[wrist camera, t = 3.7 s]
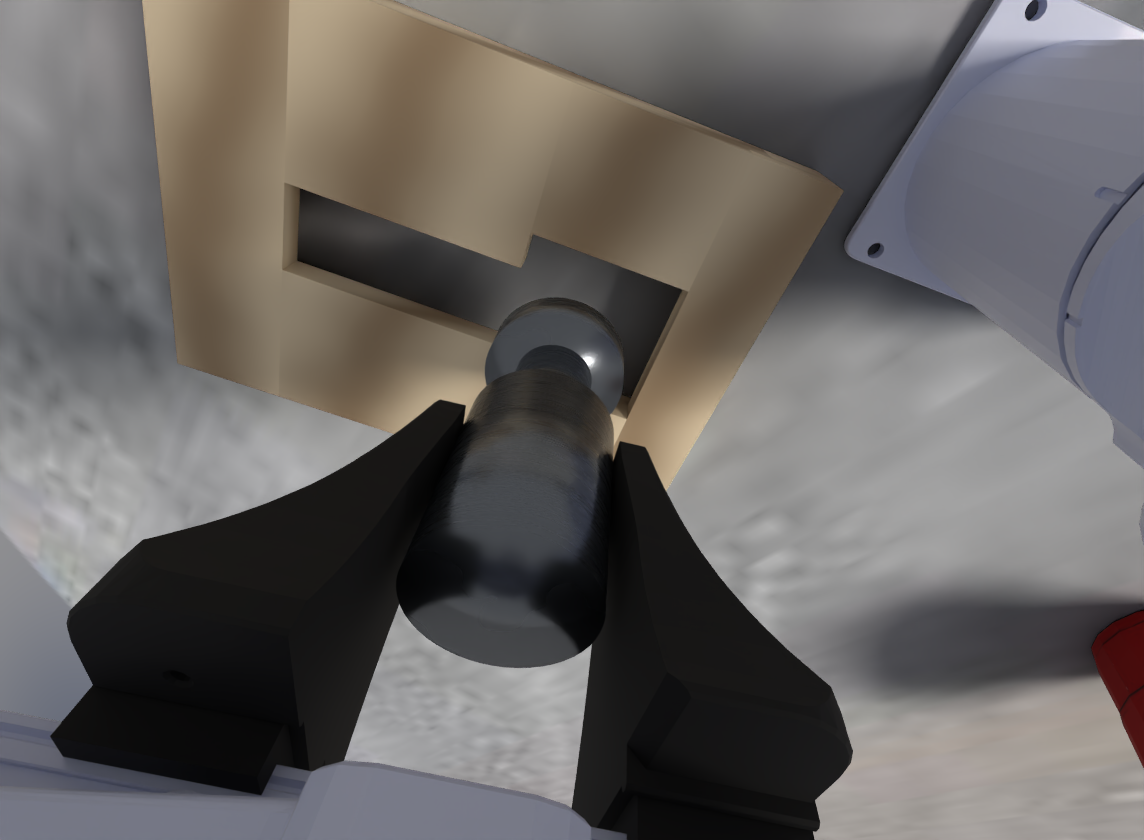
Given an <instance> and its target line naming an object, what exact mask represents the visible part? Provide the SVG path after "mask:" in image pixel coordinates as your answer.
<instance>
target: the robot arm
mask: <svg viewBox="0 0 1144 840" xmlns="http://www.w3.org/2000/svg"><path fill="white" fill-rule="evenodd" d="M1031 1H1032V0H994V2H993V4H992V5H991V7H990V8H989V10H988V12H987V13H986V15H985V16H984V18H983V20H982V21H981V23H980V24H979V26H978V28H977V29H976V31H975V32H974V34H973V36H972V37H971V39H970V40H969V42H968V44H967V45H966V47H965V48H964V50H963V52H962V53H961V55H960V56H959V58H958V60H957V61H956V63H955V65H954V66H953V68H952V69H951V71H950V73H949V74H948V76H947V77H946V79H945V81H944V82H943V84H942V85H941V87H940V89H939V90H938V92H937V93H936V95H935V97H934V98H933V100H932V101H931V103H930V105H929V106H928V108H927V109H926V111H925V113H924V114H923V116H922V117H921V119H920V121H919V122H918V124H917V125H916V127H915V129H914V130H913V132H912V133H911V135H910V137H909V138H908V140H907V141H906V143H905V145H904V146H903V148H902V149H901V151H900V153H899V154H898V156H897V157H896V159H895V161H894V162H893V164H892V165H891V167H890V169H889V170H888V172H887V173H886V175H885V177H884V178H883V180H882V182H881V183H880V185H879V186H878V188H877V190H876V191H875V193H874V194H873V196H872V198H871V199H870V201H869V202H868V204H867V206H866V207H865V209H864V210H863V212H862V214H861V215H860V217H859V218H858V220H857V222H856V223H855V225H854V226H853V228H852V230H851V231H850V233H849V234H848V236H847V238H846V240H845V243H844V249H845V251H846V253H847V254H848V255H849V256H850V257H852V258H853V259H855V260H858V261H861V262H863V263H866V264H868V265H871V266H873V267H876V268H879V269H881V270H884V271H886V272H889V273H891V274H894V275H897V276H899V277H902V278H904V279H907V280H909V281H912V282H915V283H917V284H920V285H922V286H925V287H927V288H930V289H933V290H935V291H938V292H940V293H943V294H945V295H948V296H951V297H953V298H956V299H958V300H961V301H963V302H966V303H969V304H971V305H973V306H974V307H976V308H977V309H978V310H979V311H981V312H982V313H983V314H984V315H986V316H987V317H988V318H989V319H991V320H992V321H993V322H995V323H996V324H997V325H998V326H1000V327H1001V328H1002V329H1003V330H1005V331H1006V332H1007V333H1008V334H1010V335H1011V336H1012V337H1013V338H1015V339H1016V340H1017V341H1019V342H1020V343H1021V344H1022V345H1024V346H1025V347H1026V348H1027V349H1029V350H1030V351H1031V352H1032V353H1034V354H1035V355H1036V356H1037V357H1039V358H1040V359H1041V360H1043V361H1044V362H1045V363H1046V364H1048V365H1049V366H1050V367H1051V368H1053V369H1054V370H1055V371H1056V372H1058V373H1059V374H1060V375H1061V376H1063V377H1064V378H1065V379H1066V380H1068V381H1069V382H1070V383H1072V384H1073V385H1074V386H1075V387H1077V388H1078V389H1079V390H1080V391H1082V392H1083V393H1084V394H1085V395H1087V396H1088V397H1089V398H1091V399H1093V400H1094V401H1095V402H1096V403H1097V404H1098V405H1100V406H1101V407H1102V408H1103V409H1104V410H1105V411H1106V412H1107V413H1108V414H1109V416H1110V418H1111V420H1112V423H1113V427H1114V435H1113V443H1114V444H1115V445H1116V446H1117V447H1119V448H1120V449H1121V450H1122V451H1123V452H1124V453H1126V454H1127V455H1128V456H1129V457H1130V458H1131V459H1133V460H1134V461H1135V462H1136V463H1137V464H1139V465H1140V466H1141V467H1142V468H1143V469H1144V30H1141V29H1139V28H1137V27H1135V26H1133V25H1130V24H1128V23H1126V22H1124V21H1122V20H1119V19H1117V18H1115V17H1113V16H1111V15H1109V14H1106V13H1104V12H1102V11H1100V10H1098V9H1095V8H1093V7H1091V6H1089V5H1087V4H1085V3H1082V2H1080V1H1078V0H1037V1H1038V3H1039V8H1038V11H1037V13H1036V15H1035V16H1034V17H1033V18H1032V19H1030V20H1027V19H1026V18H1025V10H1026V8H1027V6H1028V4H1029V3H1030V2H1031ZM875 243H880V248H879V250H878V251H877V252H876V253H875V254H872V255H868V253H867V251H868V249H869V247H870V246H871V245H872V244H875ZM465 409H466V405H462V404H458V403H454V402H449V401H445V400H441V399H440V400H438V401H436V402H435V403H433V404H432V405H431V406H430V407H428V408H427V409H426V410H425V411H424V412H422V413H421V414H420V415H419V416H417V417H416V418H415V419H414V420H412V421H411V422H410V423H408V424H407V425H406V426H405V427H403V428H402V429H400V430H399V431H398V432H396V433H395V434H394V435H392V436H391V437H389V438H388V439H387V440H385V441H384V442H382V443H381V444H380V445H378V446H377V447H375V448H373V449H372V450H370V451H369V452H367V453H366V454H364V455H362V456H361V457H359V458H358V459H356V460H355V461H353V462H351V463H350V464H348V465H346V466H345V467H343V468H341V469H339V470H338V471H336V472H334V473H332V474H330V475H328V476H326V477H325V478H323V479H321V480H319V481H317V482H315V483H313V484H311V485H309V486H306V487H304V488H302V489H299V490H297V491H295V492H292V493H290V494H288V495H285V496H283V497H280V498H278V499H276V500H273V501H271V502H269V503H266V504H263V505H261V506H258V507H255V508H252V509H249V510H247V511H244V512H241V513H238V514H235V515H232V516H229V517H226V518H223V519H219V520H216V521H213V522H210V523H206V524H203V525H199V526H195V527H191V528H188V529H184V530H180V531H176V532H172V533H169V534H165V535H161V536H157V537H153V538H149V539H144V540H142V541H141V542H140V543H139V544H137V545H136V546H135V547H134V548H133V549H132V550H131V551H130V552H128V553H127V554H126V555H125V556H124V557H123V558H121V559H120V560H119V561H118V562H117V563H116V564H115V566H114V567H113V568H112V569H111V570H110V571H109V572H108V573H107V574H106V575H105V576H104V577H103V578H102V579H101V580H100V581H99V582H98V583H97V584H96V585H95V586H94V587H93V588H92V589H91V590H90V591H89V592H88V593H87V594H86V595H85V596H84V597H83V598H82V599H81V600H80V601H79V602H78V603H77V604H76V605H75V606H74V607H73V608H72V609H71V610H70V611H69V615H68V620H67V628H68V631H69V635H70V639H71V642H72V644H73V646H74V648H75V650H76V652H77V654H78V656H79V658H80V660H81V662H82V664H83V666H84V668H85V670H86V672H87V674H88V676H89V678H90V680H91V682H92V684H93V686H92V687H91V688H90V689H89V691H88V692H87V693H86V694H85V695H84V697H83V698H82V699H81V700H80V701H79V703H78V704H77V705H76V706H75V707H74V708H73V710H72V711H71V712H70V713H69V714H68V716H67V717H66V718H65V719H64V720H63V721H62V722H60V721H55V720H50V719H45V718H40V717H35V716H30V715H24V714H20V713H15V712H10V711H5V710H0V840H815V839H814V835H813V831H815V832H816V831H817V830H818V829H819V827H820V820H819V816H818V812H817V807H816V803H815V800H816V799H817V798H818V797H819V796H820V795H821V794H822V793H823V792H824V791H825V790H826V789H828V788H829V787H830V786H831V785H832V784H833V783H834V782H835V781H836V780H837V779H838V778H840V776H841V775H842V774H843V773H844V771H845V770H846V769H847V767H848V766H849V765H850V763H851V759H852V754H853V750H852V747H851V744H850V740H849V737H848V734H847V731H846V727H845V724H844V720H843V717H842V714H841V711H840V709H839V706H838V704H837V701H836V698H835V696H834V693H833V691H832V688H831V687H830V686H829V685H828V684H827V683H826V682H825V681H823V680H822V679H821V678H820V677H819V676H817V675H816V674H815V673H814V672H813V671H812V670H810V669H809V668H808V667H807V666H806V665H805V664H803V663H802V662H801V661H800V660H799V659H798V658H796V657H795V656H794V655H793V654H792V653H791V652H790V651H788V650H787V649H786V648H785V647H784V646H783V645H782V644H781V643H780V642H779V641H778V640H777V639H776V638H775V637H774V636H773V635H772V634H771V633H770V632H769V631H768V630H767V629H766V628H765V627H764V626H763V625H762V624H761V623H760V622H759V621H758V620H757V619H756V618H755V617H754V616H753V615H752V614H751V613H750V612H749V611H748V610H747V609H746V607H745V606H744V605H743V604H742V603H741V602H740V601H739V599H738V598H737V597H736V596H735V595H734V594H733V593H732V591H731V590H730V589H729V588H728V587H727V586H726V584H725V583H724V582H723V581H722V579H721V578H720V577H719V576H718V574H717V573H716V572H715V570H714V569H713V568H712V566H711V565H710V564H709V562H708V561H707V559H706V558H705V557H704V555H703V554H702V553H701V551H700V550H699V548H698V547H697V545H696V544H695V542H694V540H693V539H692V537H691V535H690V534H689V532H688V531H687V529H686V527H685V526H684V524H683V522H682V520H681V519H680V517H679V515H678V513H677V511H676V509H675V508H674V506H673V504H672V502H671V500H670V498H669V496H668V494H667V492H666V490H665V488H664V486H663V484H662V482H661V480H660V478H659V476H658V473H657V471H656V469H655V467H654V464H653V462H652V460H651V457H650V455H649V453H648V451H647V449H646V447H643V446H639V445H635V444H631V443H626V442H622V441H620V442H619V445H618V448H617V451H616V454H615V457H614V460H613V470H612V492H611V514H610V536H609V558H608V579H607V601H606V617H605V622H604V625H603V628H602V630H601V632H600V634H599V635H598V637H597V638H596V640H595V641H594V642H593V643H592V649H591V659H590V668H589V677H588V686H587V695H586V703H585V712H584V720H583V728H582V736H581V744H580V751H579V759H578V767H577V774H576V782H575V789H574V796H573V803H572V809H571V808H570V807H569V806H567V805H565V804H562V803H559V802H556V801H553V800H550V799H547V798H544V797H541V796H538V795H534V794H529V793H524V792H519V791H514V790H509V789H504V788H499V787H494V786H489V785H484V784H479V783H474V782H469V781H464V780H459V779H454V778H449V777H444V776H440V775H435V774H430V773H425V772H420V771H415V770H410V769H405V768H400V767H395V766H390V765H385V764H380V763H369V762H356V761H344V759H345V756H346V753H347V750H348V747H349V744H350V741H351V737H352V734H353V732H354V729H355V726H356V723H357V720H358V717H359V714H360V711H361V708H362V705H363V703H364V700H365V697H366V694H367V691H368V688H369V685H370V682H371V680H372V677H373V674H374V671H375V668H376V666H377V663H378V660H379V657H380V654H381V652H382V649H383V646H384V643H385V641H386V638H387V635H388V632H389V630H390V627H391V624H392V622H393V619H394V616H395V614H396V611H397V608H398V606H399V601H398V598H397V592H396V578H397V574H398V571H399V568H400V566H401V564H402V562H403V559H404V557H405V555H406V553H407V550H408V548H409V546H410V544H411V541H412V539H413V537H414V535H415V532H416V530H417V528H418V526H419V524H420V521H421V519H422V517H423V515H424V512H425V510H426V508H427V506H428V503H429V501H430V499H431V497H432V494H433V492H434V490H435V488H436V485H437V483H438V481H439V479H440V477H441V474H442V472H443V470H444V468H445V465H446V463H447V461H448V459H449V456H450V454H451V452H452V450H453V447H454V445H455V443H456V441H457V438H458V436H459V434H460V432H461V430H462V427H463V425H464V417H465ZM1139 524H1140V530H1141V535H1142V540H1143V545H1144V504H1143V506H1142V509H1141V516H1140V523H1139Z"/></svg>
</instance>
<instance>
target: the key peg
mask: <svg viewBox="0 0 1144 840" xmlns="http://www.w3.org/2000/svg"><path fill="white" fill-rule="evenodd" d="M485 380H486V385H487V386H486V387H485V388H484V389H483V390H482V391H481V392H480V393H479V395H478V396H477V397H476V399H475V401H474V403H473V405H472V407H471V409H470V412H469V414H468V416H467V418H466V421H465V423H464V425H463V427H462V430H461V432H460V434H459V436H458V438H457V441H456V443H455V445H454V447H453V450H452V452H451V454H450V456H449V459H448V461H447V463H446V465H445V468H444V470H443V472H442V474H441V477H440V479H439V481H438V483H437V485H436V488H435V490H434V492H433V494H432V497H431V499H430V501H429V503H428V506H427V508H426V510H425V512H424V515H423V517H422V519H421V521H420V524H419V526H418V528H417V530H416V532H415V535H414V537H413V539H412V541H411V544H410V546H409V548H408V550H407V553H406V555H405V557H404V559H403V562H402V564H401V566H400V568H399V571H398V574H397V578H396V592H397V598H398V601H399V604H400V606H401V608H402V610H403V612H404V614H405V615H406V617H407V618H408V620H409V621H410V622H411V623H412V624H413V626H414V627H415V628H416V629H417V630H418V631H419V632H421V633H422V634H423V635H424V636H425V637H426V638H428V639H429V640H431V641H432V642H433V643H435V644H436V645H438V646H440V647H442V648H443V649H445V650H447V651H449V652H451V653H454V654H456V655H458V656H461V657H463V658H466V659H469V660H472V661H476V662H479V663H483V664H488V665H493V666H500V667H511V668H531V667H540V666H546V665H551V664H555V663H558V662H562V661H565V660H567V659H569V658H572V657H574V656H576V655H577V654H579V653H581V652H582V651H584V650H585V649H586V648H588V647H589V646H590V645H591V644H592V643H593V642H594V641H595V640H596V638H597V637H598V635H599V634H600V632H601V630H602V628H603V625H604V622H605V617H606V601H607V579H608V558H609V536H610V514H611V492H612V470H613V448H614V428H613V423H612V420H611V417H610V414H611V413H612V412H613V411H614V409H615V408H616V406H617V404H618V402H619V400H620V397H621V394H622V390H623V384H624V353H623V347H622V344H621V340H620V338H619V336H618V334H617V332H616V330H615V329H614V327H613V326H612V325H611V323H610V322H609V321H608V320H607V319H606V318H605V317H604V316H603V315H602V314H601V313H599V312H598V311H596V310H595V309H593V308H592V307H590V306H588V305H586V304H584V303H581V302H578V301H575V300H571V299H566V298H544V299H538V300H535V301H531V302H529V303H527V304H524V305H523V306H521V307H519V308H518V309H516V310H515V311H514V312H512V313H511V314H510V315H509V316H508V317H507V318H506V319H505V321H504V322H503V323H502V325H501V326H500V328H499V330H498V332H497V335H496V337H495V339H494V341H493V343H492V345H491V347H490V349H489V351H488V354H487V358H486V362H485Z"/></svg>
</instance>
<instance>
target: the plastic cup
mask: <svg viewBox="0 0 1144 840" xmlns="http://www.w3.org/2000/svg"><path fill="white" fill-rule="evenodd" d="M1091 649H1092V652H1093V656H1094V659H1095V662H1096V665H1097V669H1098V672H1099V674H1100V676H1101V678H1102V680H1103V682H1104V684H1105V686H1106V688H1107V690H1108V692H1109V693H1110V695H1111V697H1112V699H1113V701H1114V703H1115V705H1116V707H1117V709H1118V711H1119V713H1120V716H1121V720H1122V723H1123V726H1124V728H1125V730H1126V732H1127V734H1128V736H1129V738H1130V741H1131V743H1132V745H1133V747H1134V749H1135V751H1136V753H1137V755H1138V757H1139V759H1140V761H1141V763H1142V766H1143V768H1144V611H1140V612H1136V613H1134V614H1131V615H1129V616H1127V617H1125V618H1122V619H1120V620H1118V621H1116V622H1113V623H1112V624H1111V625H1110V626H1108V627H1107V628H1106V629H1105V630H1103V631H1102V632H1101V633H1100V634H1098V635H1097V637H1096V639H1095V641H1094V643H1093V645H1092V647H1091Z"/></svg>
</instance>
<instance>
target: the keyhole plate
mask: <svg viewBox="0 0 1144 840" xmlns="http://www.w3.org/2000/svg"><path fill="white" fill-rule="evenodd" d="M142 4H143V14H144V25H145V35H146V45H147V55H148V66H149V76H150V86H151V96H152V107H153V117H154V127H155V138H156V148H157V158H158V168H159V179H160V189H161V199H162V209H163V220H164V230H165V240H166V250H167V261H168V271H169V281H170V291H171V302H172V312H173V322H174V332H175V343H176V353H177V363H178V364H181V365H184V366H187V367H190V368H194V369H197V370H200V371H203V372H206V373H209V374H212V375H215V376H218V377H221V378H224V379H227V380H230V381H233V382H236V383H240V384H243V385H246V386H249V387H252V388H255V389H258V390H261V391H264V392H267V393H270V394H273V395H276V396H279V397H282V398H286V399H289V400H292V401H295V402H298V403H301V404H304V405H307V406H310V407H313V408H316V409H319V410H322V411H325V412H328V413H332V414H335V415H338V416H341V417H344V418H347V419H350V420H353V421H356V422H359V423H362V424H365V425H368V426H371V427H374V428H378V429H381V430H384V431H387V432H390V433H393V434H395V433H396V432H398V431H399V430H400V429H402V428H403V427H405V426H406V425H407V424H408V423H410V422H411V421H412V420H414V419H415V418H416V417H417V416H419V415H420V414H421V413H422V412H424V411H425V410H426V409H427V408H428V407H430V406H431V405H432V404H433V403H435V402H436V401H438V400H440V399H441V400H445V401H449V402H454V403H458V404H462V405H466V409H465V417H464V423H465V421H466V418H467V416H468V414H469V412H470V409H471V407H472V405H473V403H474V401H475V399H476V397H477V396H478V395H479V393H480V392H481V391H482V390H483V389H484V388H485V387H486V386H487V385H486V380H485V362H486V358H487V354H488V351H489V349H490V347H491V345H492V343H493V341H494V339H495V337H496V335H497V332H498V331H496V330H493V329H490V328H487V327H485V326H482V325H479V324H476V323H473V322H470V321H467V320H465V319H462V318H459V317H456V316H453V315H450V314H448V313H445V312H442V311H439V310H436V309H433V308H430V307H428V306H425V305H422V304H419V303H416V302H413V301H410V300H408V299H405V298H402V297H399V296H396V295H393V294H390V293H388V292H385V291H382V290H379V289H376V288H373V287H371V286H368V285H365V284H362V283H359V282H356V281H353V280H351V279H348V278H345V277H342V276H339V275H336V274H333V273H331V272H328V271H325V270H322V269H319V268H316V267H313V266H311V265H308V264H305V263H302V262H299V261H297V248H298V225H299V202H300V188H301V189H304V190H307V191H309V192H312V193H315V194H318V195H320V196H323V197H326V198H329V199H331V200H334V201H337V202H340V203H342V204H345V205H348V206H351V207H353V208H356V209H359V210H362V211H364V212H367V213H370V214H373V215H375V216H378V217H381V218H384V219H386V220H389V221H392V222H395V223H397V224H400V225H403V226H406V227H408V228H411V229H414V230H417V231H419V232H422V233H425V234H428V235H430V236H433V237H436V238H439V239H441V240H444V241H447V242H450V243H452V244H455V245H458V246H461V247H463V248H466V249H469V250H472V251H474V252H477V253H480V254H483V255H485V256H488V257H491V258H494V259H496V260H499V261H502V262H505V263H507V264H510V265H513V266H516V267H518V268H521V267H522V265H523V263H524V261H525V259H526V257H527V253H528V250H529V246H530V243H531V239H532V236H533V234H534V235H537V236H539V237H542V238H545V239H547V240H550V241H553V242H555V243H558V244H561V245H564V246H566V247H569V248H572V249H574V250H577V251H580V252H582V253H585V254H588V255H591V256H593V257H596V258H599V259H601V260H604V261H607V262H609V263H612V264H615V265H618V266H620V267H623V268H626V269H628V270H631V271H634V272H636V273H639V274H642V275H645V276H647V277H650V278H653V279H655V280H658V281H661V282H663V283H666V284H669V285H672V286H674V287H677V288H680V289H682V292H681V294H680V296H679V298H678V300H677V302H676V304H675V306H674V309H673V311H672V313H671V315H670V317H669V319H668V321H667V323H666V325H665V327H664V330H663V332H662V334H661V336H660V338H659V340H658V342H657V344H656V346H655V348H654V351H653V353H652V355H651V357H650V359H649V361H648V363H647V365H646V367H645V369H644V372H643V374H642V376H641V378H640V380H639V382H638V384H637V386H636V388H635V390H634V393H633V395H632V397H631V398H629V397H626V396H623V395H621V397H620V400H619V402H618V404H617V406H616V408H615V409H614V411H613V412H612V413H611V414H610V417H611V420H612V423H613V428H614V448H613V460H614V457H615V454H616V451H617V448H618V445H619V442H620V441H622V442H626V443H631V444H635V445H639V446H643V447H646V449H647V451H648V453H649V455H650V457H651V460H652V462H653V464H654V467H655V469H656V471H657V473H658V476H659V478H660V480H661V482H662V484H663V486H664V488H665V490H666V491H667V489H668V487H669V486H670V484H671V482H672V480H673V479H674V477H675V475H676V474H677V472H678V470H679V469H680V467H681V465H682V464H683V462H684V460H685V459H686V457H687V455H688V453H689V452H690V450H691V448H692V447H693V445H694V443H695V442H696V440H697V438H698V437H699V435H700V433H701V432H702V430H703V428H704V426H705V425H706V423H707V421H708V420H709V418H710V416H711V415H712V413H713V411H714V410H715V408H716V406H717V404H718V403H719V401H720V399H721V398H722V396H723V394H724V393H725V391H726V389H727V388H728V386H729V384H730V383H731V381H732V379H733V377H734V376H735V374H736V372H737V371H738V369H739V367H740V366H741V364H742V362H743V361H744V359H745V357H746V355H747V354H748V352H749V350H750V349H751V347H752V345H753V344H754V342H755V340H756V339H757V337H758V335H759V334H760V332H761V330H762V328H763V327H764V325H765V323H766V322H767V320H768V318H769V317H770V315H771V313H772V312H773V310H774V308H775V306H776V305H777V303H778V301H779V300H780V298H781V296H782V295H783V293H784V291H785V290H786V288H787V286H788V285H789V283H790V281H791V279H792V278H793V276H794V274H795V273H796V271H797V269H798V268H799V266H800V264H801V263H802V261H803V259H804V257H805V256H806V254H807V252H808V251H809V249H810V247H811V246H812V244H813V242H814V241H815V239H816V237H817V236H818V234H819V232H820V230H821V229H822V227H823V225H824V224H825V222H826V220H827V219H828V217H829V215H830V214H831V212H832V210H833V208H834V207H835V205H836V203H837V202H838V200H839V198H840V197H841V195H842V193H843V192H844V190H842V189H841V188H839V187H838V186H837V185H835V184H834V183H833V182H831V181H830V180H829V179H827V178H826V177H824V176H823V175H822V174H820V173H819V172H818V171H816V170H813V169H811V168H808V167H806V166H803V165H801V164H798V163H796V162H793V161H791V160H788V159H786V158H783V157H781V156H778V155H776V154H773V153H771V152H768V151H766V150H763V149H761V148H758V147H756V146H753V145H751V144H748V143H746V142H743V141H741V140H739V139H736V138H734V137H731V136H729V135H726V134H724V133H721V132H719V131H716V130H714V129H711V128H709V127H706V126H704V125H701V124H699V123H696V122H694V121H691V120H689V119H686V118H684V117H681V116H679V115H676V114H674V113H671V112H669V111H666V110H664V109H662V108H659V107H657V106H654V105H652V104H649V103H647V102H644V101H642V100H639V99H637V98H634V97H632V96H629V95H627V94H624V93H622V92H619V91H617V90H614V89H612V88H609V87H607V86H604V85H602V84H599V83H597V82H594V81H592V80H589V79H587V78H584V77H582V76H580V75H577V74H575V73H572V72H570V71H567V70H565V69H562V68H560V67H557V66H555V65H552V64H550V63H547V62H545V61H542V60H540V59H537V58H535V57H532V56H530V55H527V54H525V53H522V52H520V51H517V50H515V49H512V48H510V47H507V46H505V45H503V44H500V43H498V42H495V41H493V40H490V39H488V38H485V37H483V36H480V35H478V34H475V33H473V32H470V31H468V30H465V29H463V28H460V27H458V26H455V25H453V24H450V23H448V22H445V21H443V20H440V19H438V18H435V17H433V16H430V15H428V14H425V13H423V12H421V11H418V10H416V9H413V8H411V7H408V6H406V5H403V4H401V3H398V2H396V1H393V0H142Z"/></svg>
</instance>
